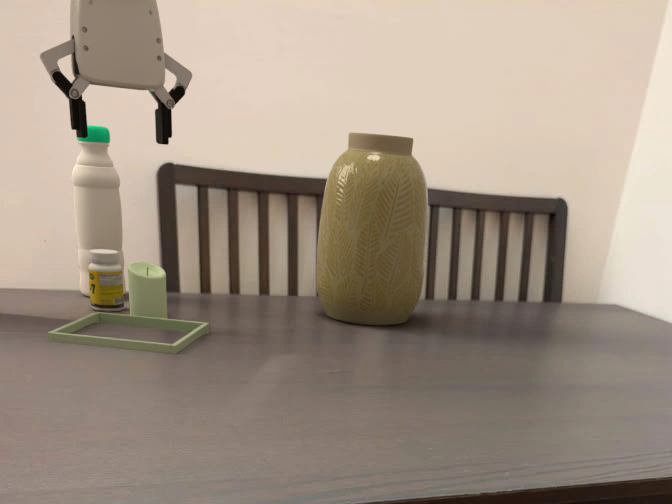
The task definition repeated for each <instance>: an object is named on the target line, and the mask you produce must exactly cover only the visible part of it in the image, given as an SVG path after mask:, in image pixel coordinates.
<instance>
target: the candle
mask: <svg viewBox="0 0 672 504" xmlns="http://www.w3.org/2000/svg"><path fill="white" fill-rule="evenodd" d="M127 283H128V301H129V302H128V303H129V315H135V316H145V317H155V318H165V319H168V301H167V300H168V299H167V298H168V297H167V273H166V271H165V270H164V268H162V267H161V266H160V265H156V264H155V263H151V262H147V261H137V260H136V261H132V262H129V263H128V265H127Z"/></svg>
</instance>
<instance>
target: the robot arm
mask: <svg viewBox="0 0 672 504" xmlns="http://www.w3.org/2000/svg"><path fill="white" fill-rule="evenodd" d="M69 8H70V9H69V10H70V11H69V40H67V41H64V42H63V43H60V44H58V45H55V46H53V47H51V48H49V49H47V50H44V51H42V52H41V53H40V54H39V59H40V60H41V63H42V65H43V67H44V68H45V71H46V72H47V74H48V75H49V77H50V80H51V82H52V83H53V84H54V85H55V86H56V87H57V88H58V90H60V91H61V93H63V95H64V96H65V98H66V99H67V100H68V108H69V120H70V129H71V130H73V131H75V136H76V135H77V136H76V138H77V137H78V138H86V137H88V131H87V125H88V118H87V117H88V116H87V103H86V101H85V100H84V99H83V94H84V92H85V91H86V90H87V88H88V87H89V86H90V85H92V86H99V87H108V88H116V89H125V90H135V91H148V92H149V94H150V95H151V97H152V98H153V99H154V101H155V102H156V104H157V108H156V109H155V110H154V118H155V119H154V121H155V122H154V123H155V125H154V126H155V143H157V145H169V143H170V141H169V139H171V138H173V119H172V118H173V116H172V115H173V114H172V110H173V109H174V108H175V107H176V105H177V104H178V103H179V102H180V101H181V100H182V98H184V97H185V95H186V91H187V90H188V87H189V85H190V83H191V81H192V77H193V73H192V72H191V70H189V69H188V68H186V67H185V66H184V65H183V64H181V63H180V62H179V61H177V60H176V59H175V58H173V57H172V56H170V55H169V54H167V53H166V52H165V50H164V39H163V32H162V30H163V29H162V24H161V18H160V12H159V6H158V2H157V0H70V7H69ZM67 56H70V66H71V73H72V75H73V77H74V78H73V80H72V81H70V80H69V79H68V78H67V77H66V76H65V74H64V73H63V72H62V71H61V69H60V67H59V63H58V62H59V61H60V60H61V59H63V58H66V57H67ZM166 71H168V72H170V73H171V74H173V75H174V76H175V78H176V80H175V82H174V83H175V84H174V86H173V87H172V88H171V89H170V90H169V91H168V90H167V89H166V88H165V86H164V85H165V83H166Z"/></svg>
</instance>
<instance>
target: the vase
mask: <svg viewBox="0 0 672 504" xmlns="http://www.w3.org/2000/svg"><path fill="white" fill-rule="evenodd" d="M347 139H348V141H347V143H348V144H347V149H346V150H345V151H343V152H342V153H341V154H340V155H339V156H338V157H337V158H336V159H335V161H334V163H333V164H332V166H331V168H330V170H329V173H328V175H327V179H326V183H325V187H324V192H323V197H322V201H321V202H322V203H321V209H320V215H319V216H320V217H319V226H318V234H317V248H316V266H315V267H316V268H315V269H316V270H315V271H316V272H315V283H316V286H315V287H316V292H317V296H318V299H319V301H320V304H321V306H322V309H323V311H324V314H325V315H326V316H327V317H329V318H331V319H333V320H336V321H340V322H343V323H349V324H354V325H361V326H380V327H382V326H383V327H384V326H385V327H386V326H387V327H388V326H396V325H401V324H404V323H406V322H408V321H409V319H410V318H411V315H412V314H413V312H414V311H415V309H416V307H417V305H418V304H419V302H420V299H421V295H422V291H423V285H424V278H425V269H426V261H427V249H428V235H429V234H428V233H429V192H428V183H427V178H426V176H425V173H424V169H423V168H422V166H421V164H420V163H419V161H418V160H417V158H415V157H414V155H413V148H414V147H413V146H414V137H408V136H401V135H390V134H379V133H366V132H349V133H348V138H347Z"/></svg>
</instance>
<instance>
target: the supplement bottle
mask: <svg viewBox="0 0 672 504" xmlns="http://www.w3.org/2000/svg"><path fill="white" fill-rule="evenodd" d="M90 261H92V263H91V264H90V265H89V267H88V272H89V285H90V297H89V298H90V307H91V309H92V310H94V311H95V312H105V313H115V312H121V311H123V310H124V309H125V299H124V298H125V297H124V295H123V278H122V267H121V266H120V265H119V264H118V263H117V262H119V254H118V251H114V250H105V249H94V250H90Z"/></svg>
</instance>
